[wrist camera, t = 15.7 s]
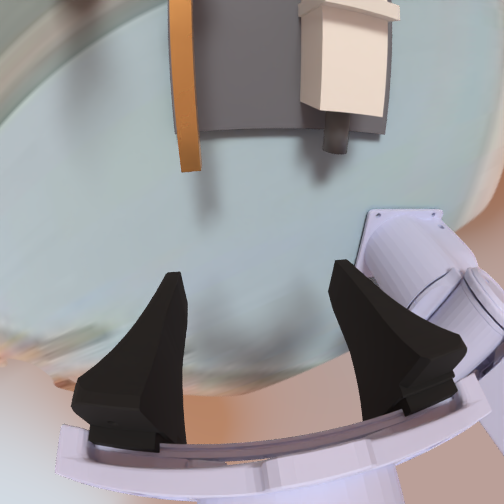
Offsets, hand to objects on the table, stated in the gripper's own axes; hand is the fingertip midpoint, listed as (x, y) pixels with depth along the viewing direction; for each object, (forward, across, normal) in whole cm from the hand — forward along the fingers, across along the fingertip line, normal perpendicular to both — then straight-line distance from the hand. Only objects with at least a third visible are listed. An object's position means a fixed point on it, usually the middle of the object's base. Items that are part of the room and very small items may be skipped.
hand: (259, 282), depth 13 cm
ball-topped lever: (+5, +3, -12) cm, 13 cm away
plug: (+10, -6, -12) cm, 17 cm away
